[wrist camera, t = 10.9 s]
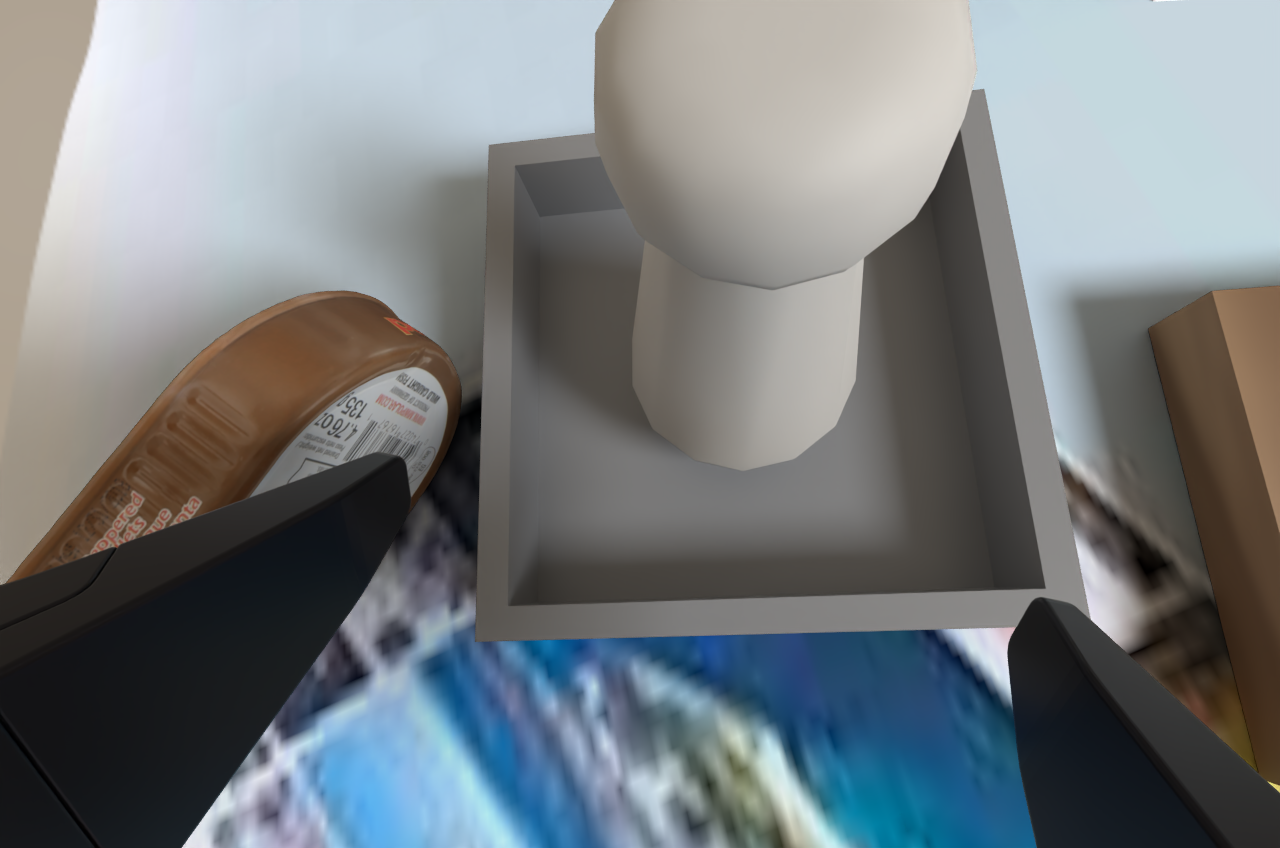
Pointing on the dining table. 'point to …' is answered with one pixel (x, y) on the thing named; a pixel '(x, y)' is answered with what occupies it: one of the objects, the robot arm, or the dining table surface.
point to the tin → (268, 420)
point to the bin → (774, 494)
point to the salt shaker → (768, 196)
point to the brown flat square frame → (1234, 479)
